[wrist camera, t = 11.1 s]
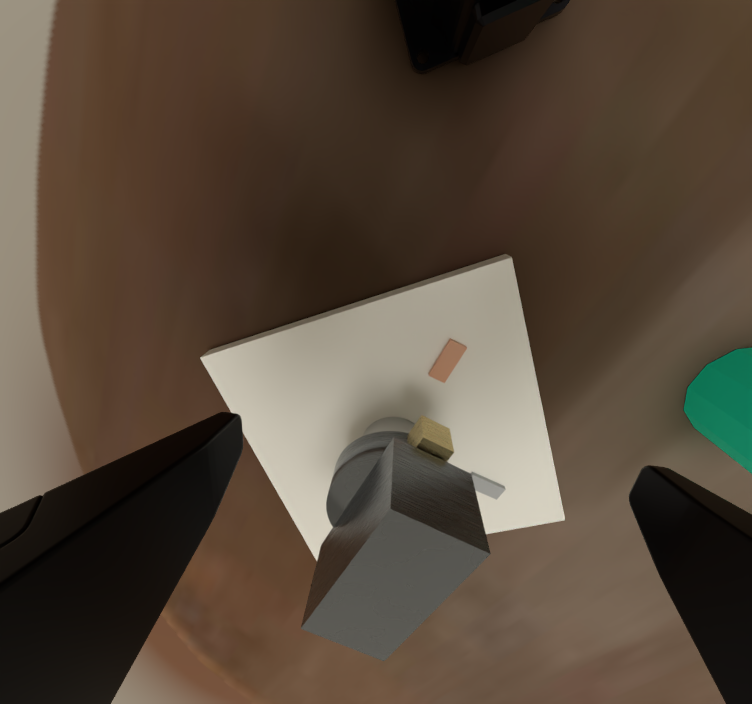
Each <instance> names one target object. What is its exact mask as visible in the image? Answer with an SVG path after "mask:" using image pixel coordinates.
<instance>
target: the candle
mask: <svg viewBox="0 0 752 704" xmlns="http://www.w3.org/2000/svg"><path fill="white" fill-rule="evenodd" d="M684 412H685V413H686V415H687V417H688V418H689V420H690V422H691V423H692V425H693V427H694V428H695V429H696V430H698V431H699V432H700V433H701V434H703V435H704V436H705V437H706V438H708V439H709V440H710V441H711V442H713V443H714V444H715V445H716V446H718V447H719V448H720V449H721V450H723V451H724V452H725V453H726V454H728V455H729V456H730V457H731V458H733V459H734V460H735V461H736V462H738V463H739V464H740V465H742V466H743V467H744V468H745V469H747V470H748V471H749V472H750V473H752V348H743V349H736V350H734V351H732V352H730V353H728V354H726V355H724V356H723V357H721V358H719V359H717V360H715V361H713V362H711V363H709V364H707V365H706V366H705V367H704V369H703V370H702V371H701V372H700V373H699V375H698V376H697V377H696V378H695V379H694V380H693V382H692V383H691V384H690V385H689V386H688V388H687V393H686V399H685V404H684Z"/></svg>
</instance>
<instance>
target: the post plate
mask: <svg viewBox="0 0 752 704" xmlns="http://www.w3.org/2000/svg"><path fill="white" fill-rule="evenodd" d="M200 359H201V360H202V362H203V364H204V366H205V367H206V369H207V371H208V373H209V374H210V376H211V378H212V379H213V381H214V383H215V385H216V386H217V388H218V390H219V392H220V393H221V395H222V397H223V399H224V400H225V402H226V404H227V406H228V407H229V409H230V411H231V413H237V414H239V415H240V416H241V419H242V432H243V433H244V435H245V437H246V439H247V440H248V442H249V444H250V446H251V447H252V449H253V451H254V453H255V454H256V456H257V458H258V459H259V461H260V463H261V465H262V466H263V468H264V470H265V472H266V473H267V475H268V477H269V479H270V480H271V482H272V484H273V486H274V487H275V489H276V491H277V493H278V494H279V496H280V498H281V499H282V501H283V503H284V505H285V506H286V508H287V510H288V512H289V513H290V515H291V517H292V519H293V520H294V522H295V524H296V526H297V527H298V529H299V531H300V533H301V534H302V536H303V538H304V539H305V541H306V543H307V545H308V546H309V548H310V550H311V552H312V553H313V555H314V557H315V559H316V560H318V556H319V551H320V547H321V544H322V543H323V541H324V540H325V538H326V537H327V535H328V534H329V532H330V531H331V529H332V528H333V527H332V525H331V523H330V521H329V518H328V515H327V511H326V501H327V496H328V492H329V488H330V484H331V480H332V476H333V473H334V469H335V465H336V462H337V460H338V458H339V456H340V454H341V453H342V451H343V450H344V449H345V448H346V447H347V446H348V445H349V444H351V443H352V442H353V441H355V440H356V439H358V438H360V437H362V436H365V435H367V434H371V433H375V432H381V431H400V432H405V433H409V432H410V431H411V429H412V428H413V426H414V425H415V424H416V422H417V421H418V419H419V418H420V416H421V415H423V416H425V417H427V418H429V419H431V420H433V421H435V422H437V423H439V424H441V425H443V426H445V427H447V428H449V429H450V433H451V439H452V444H453V449H454V453H453V454H452V456H451V457H450V458H449V460H448V461H447V462H448V463H450V464H452V465H454V466H456V467H458V468H460V469H462V470H464V471H466V472H469V473H471V474H472V479H473V483H474V487H475V491H476V495H477V500H478V504H479V508H480V512H481V516H482V521H483V525H484V529H485V533H486V534H489V533H495V532H501V531H506V530H512V529H518V528H523V527H529V526H535V525H540V524H546V523H552V522H558V521H563V520H565V517H564V512H563V507H562V502H561V497H560V492H559V487H558V482H557V477H556V473H555V468H554V463H553V458H552V453H551V448H550V443H549V438H548V433H547V428H546V423H545V418H544V413H543V408H542V403H541V399H540V394H539V389H538V384H537V379H536V374H535V369H534V364H533V359H532V354H531V349H530V344H529V339H528V334H527V329H526V325H525V320H524V315H523V310H522V305H521V300H520V295H519V290H518V285H517V280H516V275H515V270H514V265H513V260H512V257H510V256H509V255H507V254H503V255H500V256H497V257H494V258H491V259H488V260H485V261H482V262H479V263H476V264H472V265H469V266H466V267H463V268H460V269H457V270H454V271H451V272H448V273H445V274H442V275H439V276H435V277H432V278H429V279H426V280H423V281H420V282H417V283H414V284H411V285H408V286H405V287H402V288H399V289H395V290H392V291H389V292H386V293H383V294H380V295H377V296H374V297H371V298H368V299H365V300H362V301H358V302H355V303H352V304H349V305H346V306H343V307H340V308H337V309H334V310H331V311H328V312H325V313H322V314H318V315H315V316H312V317H309V318H306V319H303V320H300V321H297V322H294V323H291V324H288V325H285V326H281V327H278V328H275V329H272V330H269V331H266V332H263V333H260V334H257V335H254V336H251V337H248V338H245V339H241V340H238V341H235V342H232V343H229V344H226V345H223V346H220V347H217V348H214V349H211V350H209V351H208V352H206V353H205V354H204V355H203V356H201V357H200Z"/></svg>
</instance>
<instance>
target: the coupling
mask: <svg viewBox="0 0 752 704" xmlns="http://www.w3.org/2000/svg"><path fill="white" fill-rule="evenodd" d="M453 453H454V449H453V444H452V439H451V433H450V429H449V428H447V427H445V426H443V425H441V424H439V423H437V422H435V421H433V420H431V419H429V418H427V417H425V416H423V415H421V416H420V418H419V419H418V421H417V422H416V424H415V425H414V426H413V428H412V429H411V431H410V432H409V433H405V432H400V431H381V432H375V433H371V434H367V435H365V436H362V437H360V438H358V439H356V440H355V441H353V442H352V443H351V444H349V445H348V446H347V447H346V448H345V449H344V450H343V451H342V453H341V454H340V456H339V458H338V460H337V462H336V465H335V469H334V473H333V476H332V480H331V484H330V488H329V492H328V496H327V501H326V511H327V515H328V518H329V521H330V523H331V525H332V527H333V528H332V529H331V531H330V532H329V534H328V535H327V537H326V538H325V540H324V541H323V543H322V544H321V547H320V551H319V556H318V560H317V564H316V568H315V572H314V576H313V580H312V584H311V589H310V593H309V597H308V601H307V605H306V609H305V613H304V617H303V622H302V626H301V629H303V630H306V631H308V632H311V633H313V634H316V635H318V636H321V637H324V638H326V639H329V640H331V641H334V642H336V643H339V644H341V645H344V646H347V647H349V648H352V649H354V650H357V651H359V652H362V653H364V654H367V655H370V656H372V657H375V658H377V659H380V660H382V661H385V660H386V659H387V658H388V657H389V656H390V655H391V654H392V653H393V652H394V651H395V650H396V649H397V648H398V647H399V646H400V645H401V644H402V643H403V642H404V641H405V640H406V639H407V638H408V637H409V636H410V635H411V634H412V633H413V632H414V631H415V630H416V629H417V628H418V627H419V625H420V624H421V623H422V622H423V621H424V620H425V619H426V618H427V617H428V616H429V615H430V614H431V613H432V612H433V611H434V610H435V609H436V608H437V607H438V606H439V605H440V604H441V603H442V602H443V601H444V600H445V599H446V598H447V597H448V596H449V595H450V594H451V593H452V592H453V591H454V590H455V589H456V588H457V587H458V586H459V585H460V584H461V583H462V582H463V581H464V580H465V579H466V578H467V577H468V576H469V575H470V574H471V573H472V572H473V571H474V570H475V569H476V568H477V567H478V566H479V565H480V564H481V563H482V562H483V561H484V560H485V559H486V558H487V557H488V556H489V555H490V550H489V546H488V542H487V537H486V533H485V529H484V525H483V521H482V516H481V512H480V508H479V504H478V500H477V495H476V491H475V487H474V483H473V479H472V474H471V473H469V472H466V471H464V470H462V469H460V468H458V467H456V466H454V465H452V464H450V463H448V462H447V461H448V460H449V458H450V457H451V456H452V454H453Z"/></svg>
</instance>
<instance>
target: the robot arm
mask: <svg viewBox="0 0 752 704" xmlns="http://www.w3.org/2000/svg"><path fill="white" fill-rule="evenodd" d="M553 1H554V0H395V2H396V6H397V10H398V14H399V18H400V22H401V26H402V30H403V34H404V38H405V42H406V45H407V49H408V53H409V57H410V61H411V65H412V67H413V69H414V70H415V71H416V72H417V73H420V74H423V73H427V72H429V71H431V70H434V69H436V68H438V67H441V66H443V65H445V64H447V63H450V62H452V61H454V60H456V59H460V62H461V63H463V64H465V65H468V64H470V63H473V62H475V61H477V60H480V59H482V58H484V57H487V56H489V55H491V54H493V53H496V52H498V51H500V50H503V49H505V48H507V47H510V46H512V45H514V44H516V43H519V42H521V41H523V40H525V38H526V37H527V36H528V34H529V33H530V32H531V30H532V29H533V28H534V26H535V25H536V24H538V23H540V22H543V21H545V20H547V19H549V18H552V17H554V16H556V15H558V14H559V13H561V12H562V11H563V9H564V8H565V7H566V6H567V4H568V3H569V1H570V0H561V2H560V3H559V4H555V3H554V2H553ZM423 52H424V53H426V54H427V55H428V61H427V62H426V63H425V64H421V63H419V62H418V60H417V56H418V55H419V54H420V53H423ZM242 449H243V432H242V419H241V416H240V415H239V414H237V413H229V412H220V413H218V414H216V415H213V416H211V417H209V418H207V419H205V420H203V421H200V422H198V423H196V424H194V425H192V426H189V427H187V428H185V429H183V430H181V431H179V432H176V433H174V434H172V435H170V436H168V437H165V438H163V439H161V440H159V441H157V442H155V443H152V444H150V445H148V446H146V447H144V448H141V449H139V450H137V451H135V452H133V453H131V454H128V455H126V456H124V457H122V458H120V459H117V460H115V461H113V462H111V463H109V464H107V465H104V466H102V467H100V468H98V469H96V470H93V471H91V472H89V473H87V474H85V475H82V476H80V477H78V478H76V479H74V480H72V481H69V482H67V483H66V484H63V485H61V486H58V487H56V488H54V489H52V490H50V491H48V492H46V493H45V494H44V495H43V496H41V495H39V496H36V497H34V498H32V499H30V500H28V501H26V502H24V503H22V504H19V505H17V506H15V507H13V508H10V509H8V510H6V511H4V512H1V513H0V704H111V702H112V700H113V699H114V697H115V695H116V693H117V691H118V690H119V688H120V686H121V684H122V682H123V681H124V679H125V677H126V675H127V673H128V672H129V670H130V668H131V666H132V664H133V663H134V661H135V659H136V657H137V655H138V654H139V652H140V650H141V648H142V646H143V645H144V643H145V641H146V639H147V637H148V635H149V634H150V632H151V630H152V628H153V626H154V625H155V623H156V621H157V619H158V618H159V616H160V614H161V612H162V610H163V609H164V607H165V605H166V603H167V601H168V600H169V598H170V596H171V594H172V592H173V591H174V589H175V587H176V585H177V583H178V582H179V580H180V578H181V576H182V574H183V573H184V571H185V569H186V567H187V565H188V564H189V562H190V560H191V558H192V556H193V555H194V553H195V551H196V549H197V547H198V546H199V544H200V542H201V540H202V538H203V537H204V535H205V533H206V531H207V529H208V528H209V526H210V524H211V522H212V520H213V518H214V516H215V514H216V512H217V510H218V508H219V505H220V503H221V501H222V498H223V496H224V494H225V491H226V489H227V487H228V484H229V482H230V479H231V477H232V475H233V472H234V470H235V468H236V465H237V463H238V461H239V458H240V456H241V453H242ZM629 502H630V506H631V508H632V511H633V513H634V516H635V518H636V520H637V523H638V525H639V528H640V530H641V533H642V535H643V537H644V540H645V542H646V545H647V547H648V550H649V552H650V554H651V557H652V559H653V562H654V564H655V566H656V568H657V571H658V573H659V575H660V577H661V579H662V581H663V583H664V585H665V587H666V589H667V591H668V593H669V595H670V597H671V599H672V601H673V603H674V605H675V607H676V609H677V611H678V612H679V614H680V616H681V618H682V620H683V622H684V624H685V626H686V628H687V630H688V632H689V634H690V635H691V637H692V639H693V641H694V643H695V645H696V647H697V649H698V651H699V653H700V655H701V657H702V659H703V660H704V662H705V664H706V666H707V668H708V670H709V672H710V674H711V676H712V678H713V680H714V682H715V683H716V685H717V687H718V689H719V691H720V693H721V695H722V697H723V699H724V701H725V703H726V704H752V514H750V513H748V512H746V511H744V510H743V509H741V508H739V507H737V506H735V505H734V504H732V503H730V502H728V501H726V500H725V499H723V498H721V497H719V496H717V495H716V494H714V493H712V492H710V491H708V490H707V489H705V488H703V487H701V486H699V485H698V484H696V483H694V482H692V481H690V480H689V479H687V478H685V477H683V476H681V475H680V474H678V473H676V472H674V471H673V470H671V469H669V468H665V467H658V466H650V465H648V466H645V467H644V468H642V469H641V471H640V473H639V475H638V477H637V479H636V481H635V483H634V485H633V487H632V489H631V491H630V494H629Z"/></svg>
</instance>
